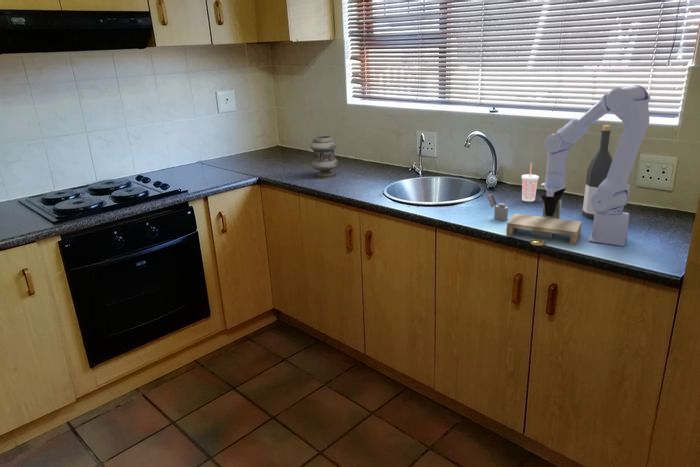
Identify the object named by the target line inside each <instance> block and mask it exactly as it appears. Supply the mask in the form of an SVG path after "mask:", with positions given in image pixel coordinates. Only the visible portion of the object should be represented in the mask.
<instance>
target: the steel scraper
mask: <svg viewBox="0 0 700 467" xmlns="http://www.w3.org/2000/svg"><path fill="white" fill-rule="evenodd" d="M562 201H563V200H562V198H561V199H559V200H558V202H557V205H556V208H555V212H554V215H553V216H546V213H545V206H544V205H543V209H542V217H548V218H556V219H561V209H562V208H561V207H562ZM532 235H533V237H542V238H548V239H551V238H553V236H552V235H553V233H551V232H543V231H536V230H532Z"/></svg>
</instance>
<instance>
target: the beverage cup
mask: <svg viewBox="0 0 700 467" xmlns="http://www.w3.org/2000/svg"><path fill="white" fill-rule="evenodd" d="M532 169H533V162H530V167H529V174H527V173H525V174H522V175H521V200H522V201H524V202H530V203H531V202H534V201H536V194H537V189H538V188H537V187H538V181H539V179H540V176H539V175H537V174H533V173H532Z"/></svg>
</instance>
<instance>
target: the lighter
mask: <svg viewBox="0 0 700 467" xmlns="http://www.w3.org/2000/svg"><path fill="white" fill-rule="evenodd" d="M486 197H487V199H488V202H489V204H490V207H491V208H492V207H493V208H494V214H493V215H494V216H493V218H494V219H496V220H499V221H500V220H501V221H507V220H508V217H509V207H508V206H506V204H505V203H503V202H502V203H501V202H499V203H498V204H497V202H496V197H495V195H494V193H490V194H488V195H487V196H486Z"/></svg>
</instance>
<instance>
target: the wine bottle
mask: <svg viewBox="0 0 700 467" xmlns="http://www.w3.org/2000/svg"><path fill="white" fill-rule="evenodd" d="M600 132H601V133H600V142H599V149H598V151H597V152H596V153H595V155H594V156H593V158H592V159H591V161H590V163H589V165H588V166H587V167H588V168H587V170H586V179H585V180H586V181H585V188H584V195H583V196H584V197H583V204H582V211H581V212H582V216H584V217H585V218H589V219H593V220H594V213H595V211H594V208H593V207H592V205H591V197H592V195H593V194H594V193H595V192H596V191H597V189H598V186H599V185H600V184H601V183H602V182H603V181H604V180H605V179H606V177H607V174H608V172H609V169H610V166H611V163H612V160H613V158H612V156H611V153H610V151H609V143H610V138H611V137H610V136H611V125H609V124H603V126H602V129H601V131H600Z"/></svg>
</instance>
